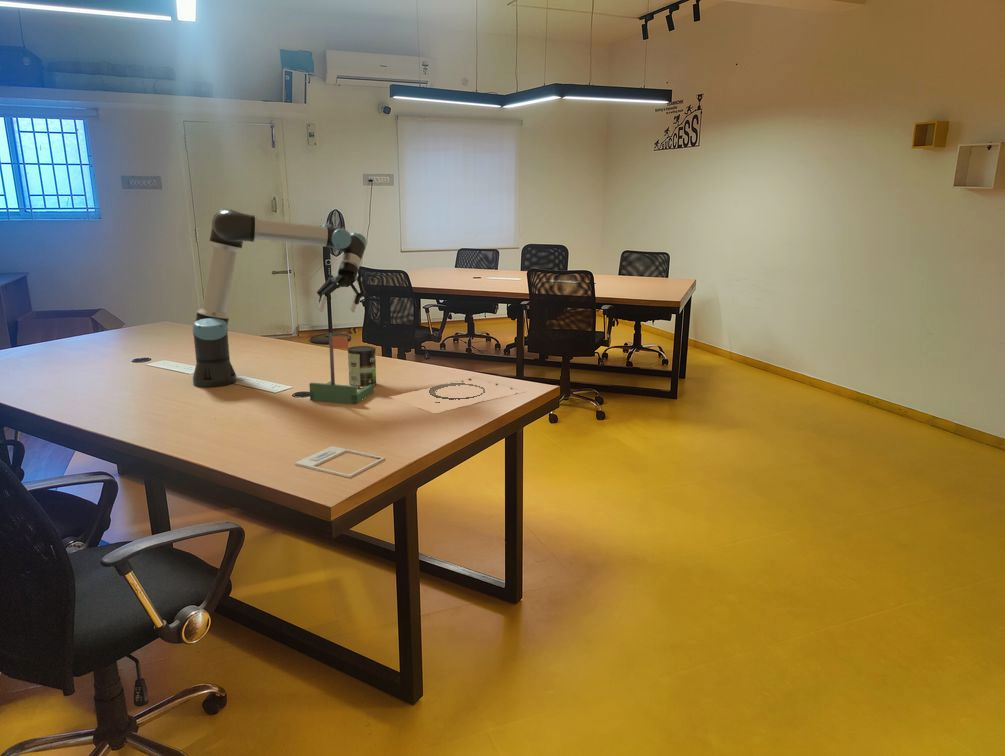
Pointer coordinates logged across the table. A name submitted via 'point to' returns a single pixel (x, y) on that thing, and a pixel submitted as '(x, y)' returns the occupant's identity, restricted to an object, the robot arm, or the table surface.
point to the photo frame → (329, 454)
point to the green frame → (330, 389)
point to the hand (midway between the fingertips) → (336, 310)
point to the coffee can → (362, 366)
